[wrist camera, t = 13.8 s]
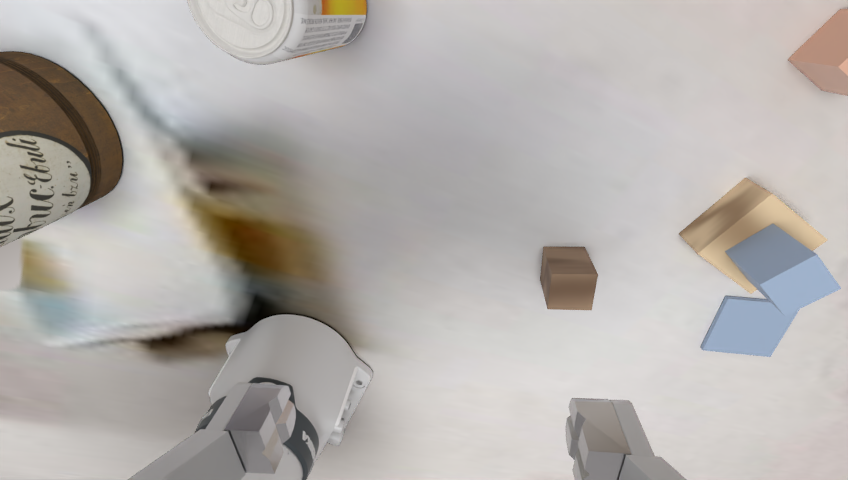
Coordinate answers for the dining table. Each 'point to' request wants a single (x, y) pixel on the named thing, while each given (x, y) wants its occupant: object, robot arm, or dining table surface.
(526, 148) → the dining table surface
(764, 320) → the tile
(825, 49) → the terracotta cube
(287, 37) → the beer can
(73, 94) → the wooden container
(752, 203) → the oak base
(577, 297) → the walnut cube
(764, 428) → the dining table surface
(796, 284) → the blue cube
